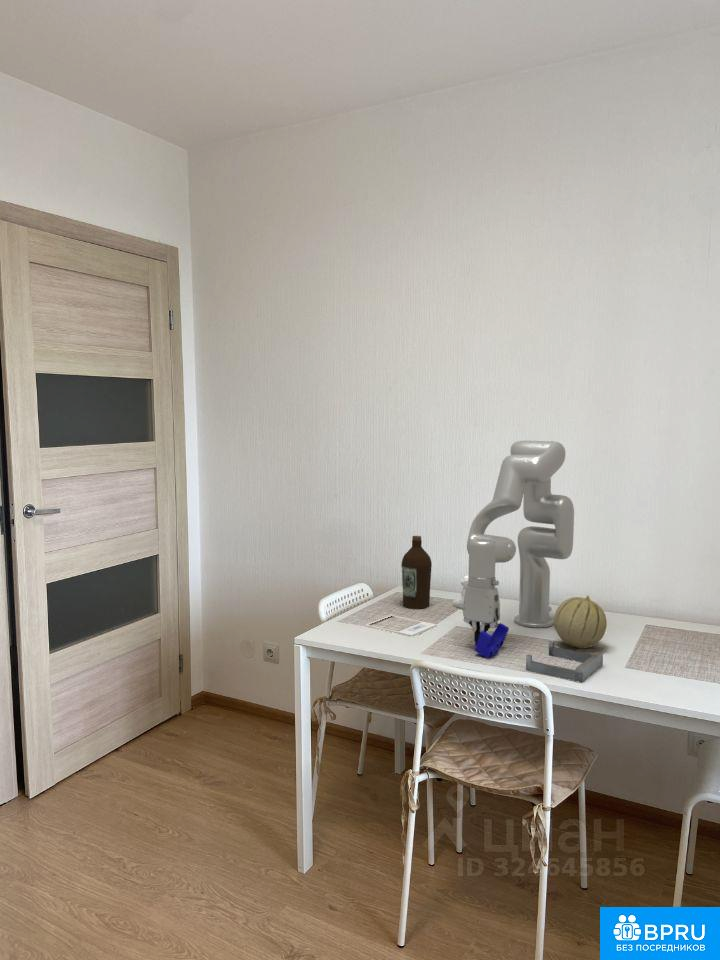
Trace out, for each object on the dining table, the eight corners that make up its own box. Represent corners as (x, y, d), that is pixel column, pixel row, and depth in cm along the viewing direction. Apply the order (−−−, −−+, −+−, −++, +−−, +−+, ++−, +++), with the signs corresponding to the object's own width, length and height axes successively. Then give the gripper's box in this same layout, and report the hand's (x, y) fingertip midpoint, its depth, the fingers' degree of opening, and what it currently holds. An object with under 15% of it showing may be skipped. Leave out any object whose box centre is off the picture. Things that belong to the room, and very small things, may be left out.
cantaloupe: (544, 647, 213) (545, 597, 212) (567, 635, 224) (568, 588, 223) (592, 658, 203) (594, 605, 202) (614, 646, 214) (615, 596, 213)
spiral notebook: (411, 634, 222) (365, 624, 233) (411, 638, 223) (365, 627, 233) (437, 623, 234) (391, 614, 245) (436, 627, 234) (391, 617, 245)
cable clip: (487, 658, 203) (494, 640, 201) (474, 650, 205) (480, 632, 203) (506, 648, 212) (513, 630, 210) (493, 640, 215) (500, 622, 213)
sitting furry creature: (478, 604, 261) (478, 571, 260) (484, 611, 252) (484, 577, 251) (452, 605, 260) (452, 572, 259) (457, 611, 252) (457, 577, 250)
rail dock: (550, 654, 206) (550, 640, 206) (602, 665, 197) (603, 651, 197) (525, 670, 194) (526, 655, 193) (580, 682, 185) (581, 667, 184)
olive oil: (415, 600, 266) (416, 532, 264) (437, 606, 258) (438, 536, 256) (395, 605, 259) (395, 536, 257) (417, 611, 251) (417, 540, 249)
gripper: (511, 583, 207) (509, 646, 209) (465, 576, 216) (463, 637, 218) (498, 588, 201) (497, 653, 203) (452, 580, 210) (450, 642, 212)
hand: (480, 644), depth 210 cm, fingers closed
